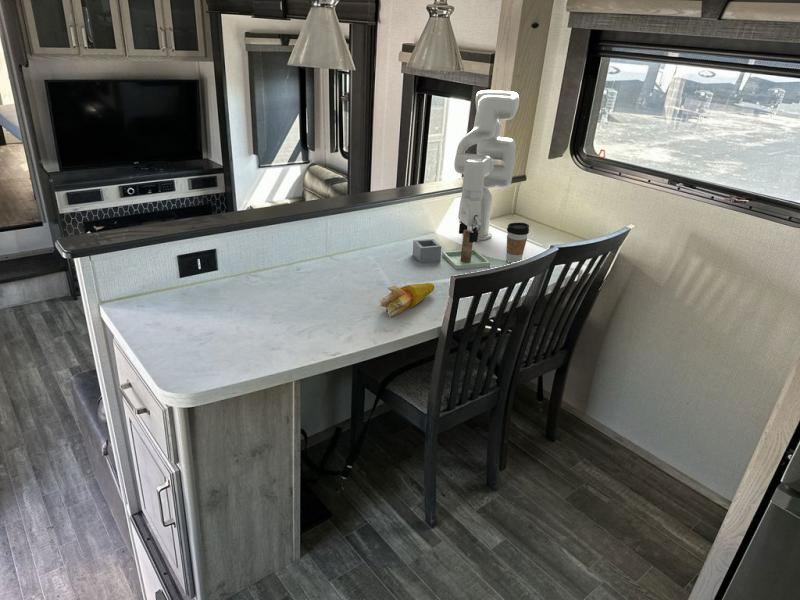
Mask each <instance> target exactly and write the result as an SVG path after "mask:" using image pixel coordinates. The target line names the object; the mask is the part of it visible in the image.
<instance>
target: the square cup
mask: <svg viewBox="0 0 800 600" xmlns="http://www.w3.org/2000/svg"><path fill="white" fill-rule="evenodd" d="M412 256H413V257H414V258H415V260H417V262H418V263H420V264H424V263H434V262H441V257H442V245H440V243H438V242H437V240H435V239H434V238H426V239H425V238H424V239H414V240H413V241H412Z"/></svg>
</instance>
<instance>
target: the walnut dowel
mask: <svg viewBox="0 0 800 600" xmlns="http://www.w3.org/2000/svg"><path fill="white" fill-rule="evenodd" d="M470 232H471V230H469V229H467V230H464V233H463V234H462V243H461V259H460V261H462V262H465V263H468V262H471V255H472V249H473V246H474V242H472V243H470V242H469V236H470Z"/></svg>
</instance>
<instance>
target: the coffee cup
mask: <svg viewBox="0 0 800 600" xmlns="http://www.w3.org/2000/svg"><path fill="white" fill-rule="evenodd" d="M506 228H507V229H506V231H507V235H506V254H505V255H506V257H505V261H506V260H507V261H509V262H510V263H509V262H508V263H509V264H513V263H512V262H517V261H520V260H521V261H522V259H523V255H524V250H525V247H526V244H527V241H528V240H527V239H528V234H529V233H530V224H528V223H526V222H511V223H509V224H508V225H507V227H506ZM507 261H506V262H507Z"/></svg>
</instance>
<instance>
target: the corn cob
mask: <svg viewBox="0 0 800 600" xmlns="http://www.w3.org/2000/svg"><path fill="white" fill-rule="evenodd" d="M387 289H388V290H389V291H390V292H389V293H388V294H387V295H385V296H384V297H382V298H381V299H380V300H378V301H379V302H378V303H380V304H379V306H380V307H384V308H385V311H384V314H387V315H388V319H390V318H392V317H395V315H398V314H400V313H401V312H403V311H404V310H406V309H407V308H409V309H412V308H414V307H415V306H416V305H417V304H418V303H420V302H421V301H422V300H424V299H425V298H426V297H428V296H429V295H431V294H432V293H433V292H434V290H435V284H434V283H431V282H426V283H416V284H415V283H414V284H408V285H404V286H401V287H398V286H397V285H392V286H388V287H387Z"/></svg>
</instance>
